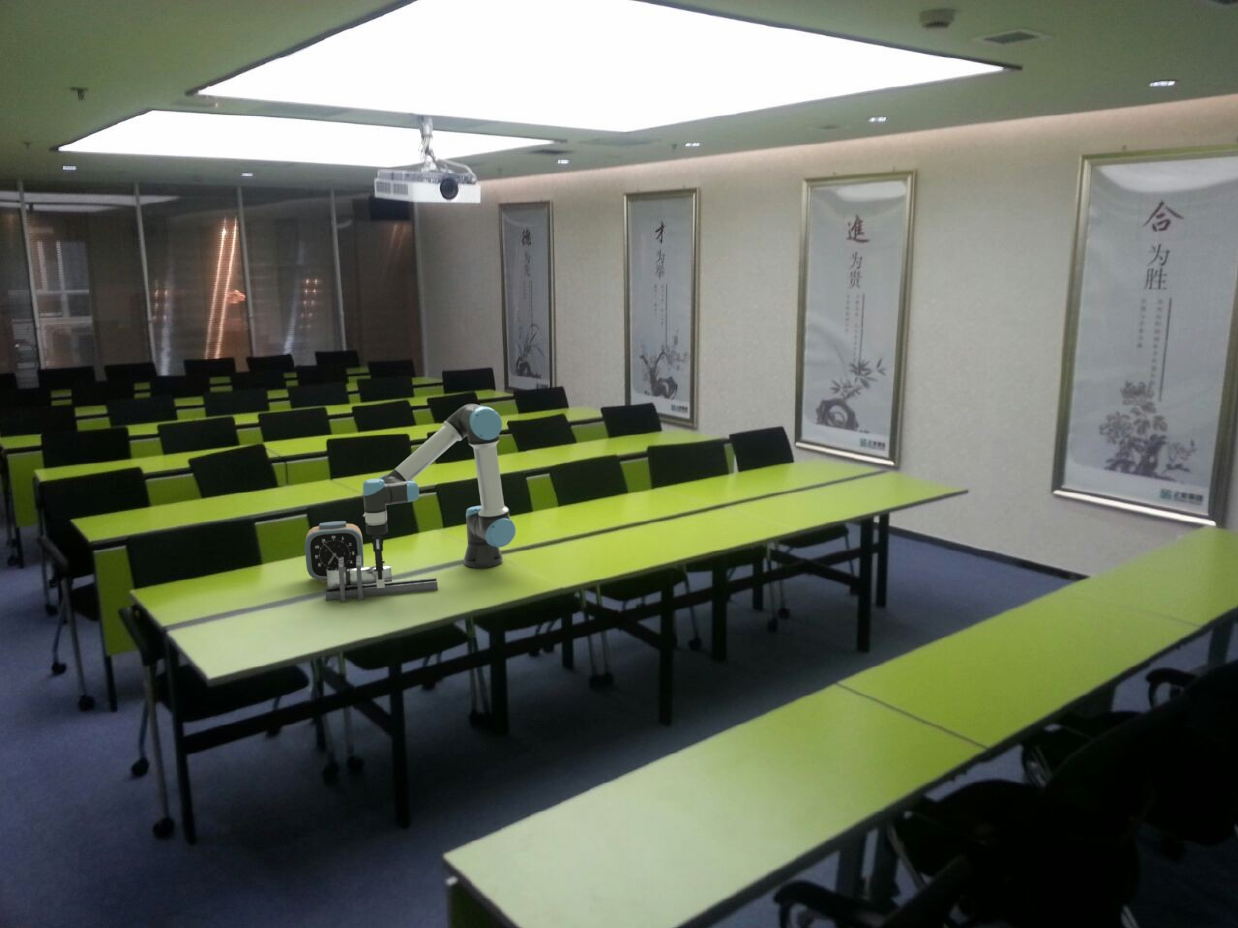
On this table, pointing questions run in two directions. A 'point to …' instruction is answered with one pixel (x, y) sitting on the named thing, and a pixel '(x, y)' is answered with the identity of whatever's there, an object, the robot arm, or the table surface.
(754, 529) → the table surface
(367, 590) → the gray metal rack
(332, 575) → the tube
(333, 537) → the alarm clock
